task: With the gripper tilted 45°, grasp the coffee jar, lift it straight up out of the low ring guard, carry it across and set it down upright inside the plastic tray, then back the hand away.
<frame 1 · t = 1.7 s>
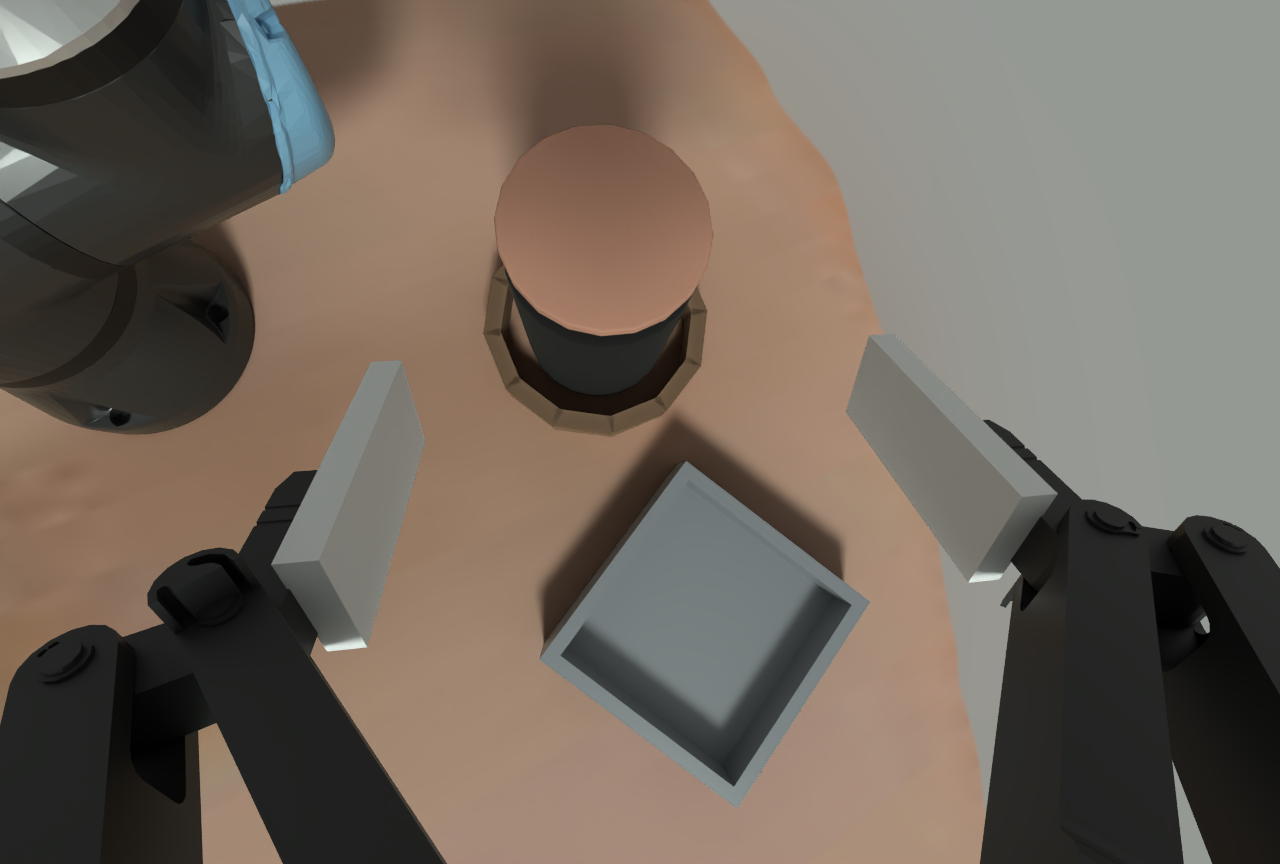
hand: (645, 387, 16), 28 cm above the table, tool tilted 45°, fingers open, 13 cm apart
ring guard: (596, 333, 44), on the table
coffee jar: (596, 334, 44), resting in ring guard
tray: (698, 616, 42), on the table
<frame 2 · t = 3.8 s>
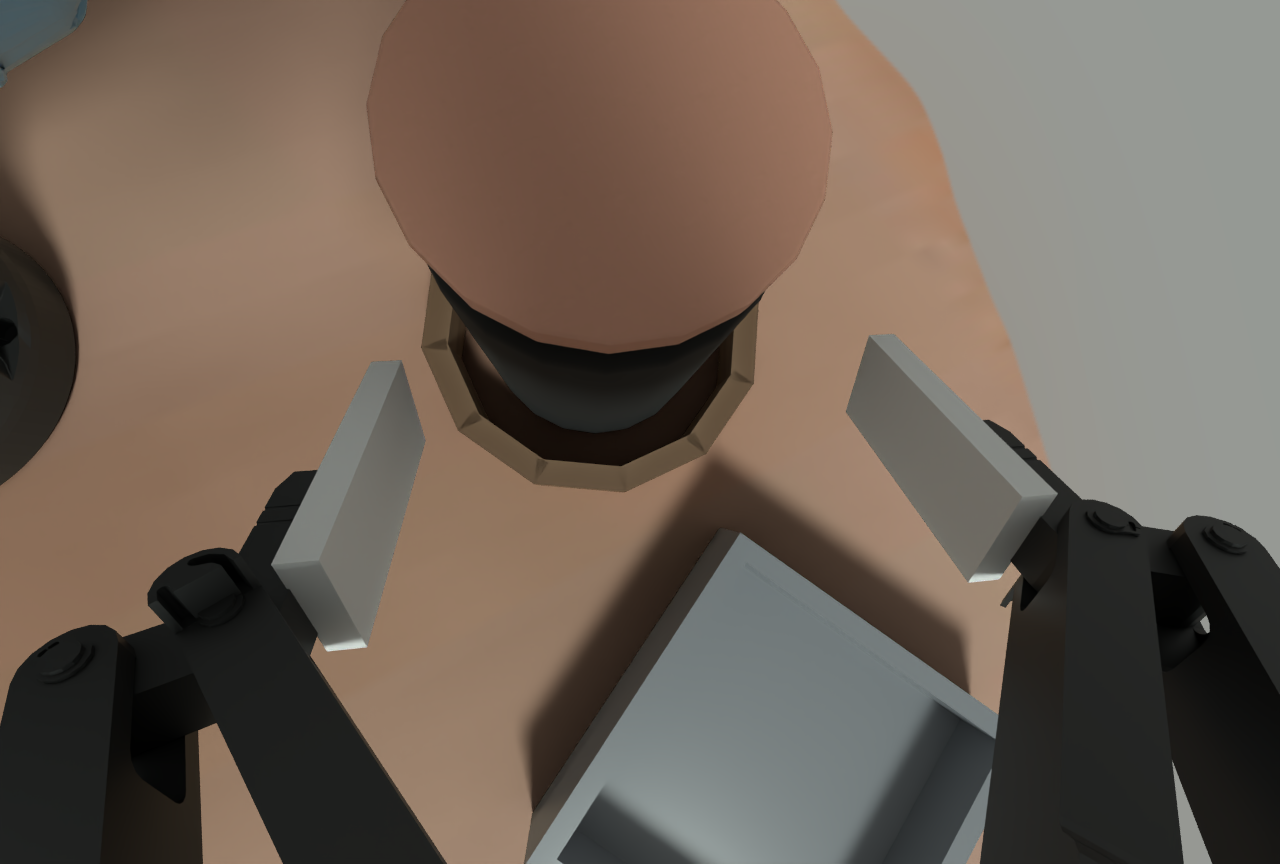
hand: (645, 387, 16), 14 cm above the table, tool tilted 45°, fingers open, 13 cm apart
ring guard: (595, 339, 30), on the table
coffee jar: (595, 341, 30), resting in ring guard
tray: (762, 756, 28), on the table
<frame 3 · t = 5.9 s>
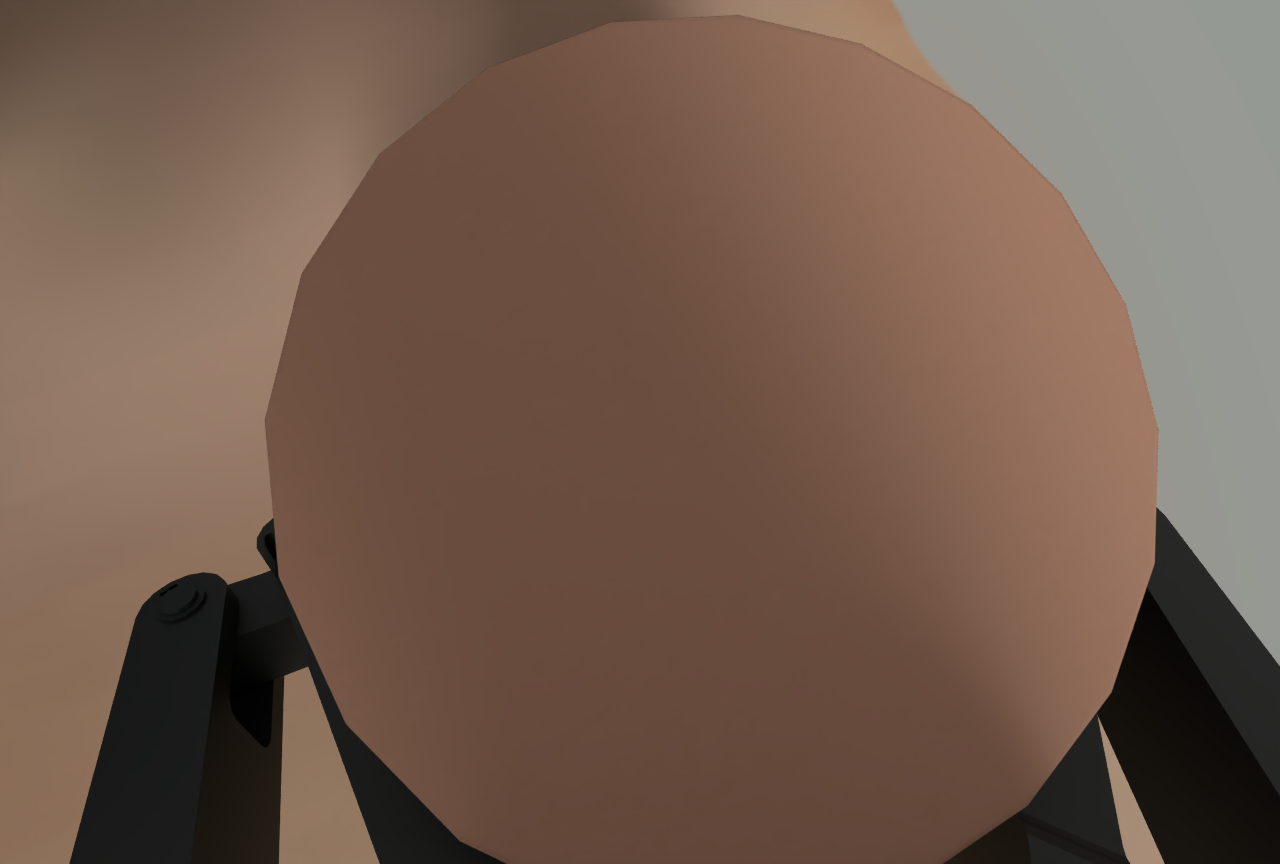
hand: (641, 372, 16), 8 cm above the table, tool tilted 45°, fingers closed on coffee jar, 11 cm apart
coffee jar: (627, 478, 24), resting in ring guard, touching gripper
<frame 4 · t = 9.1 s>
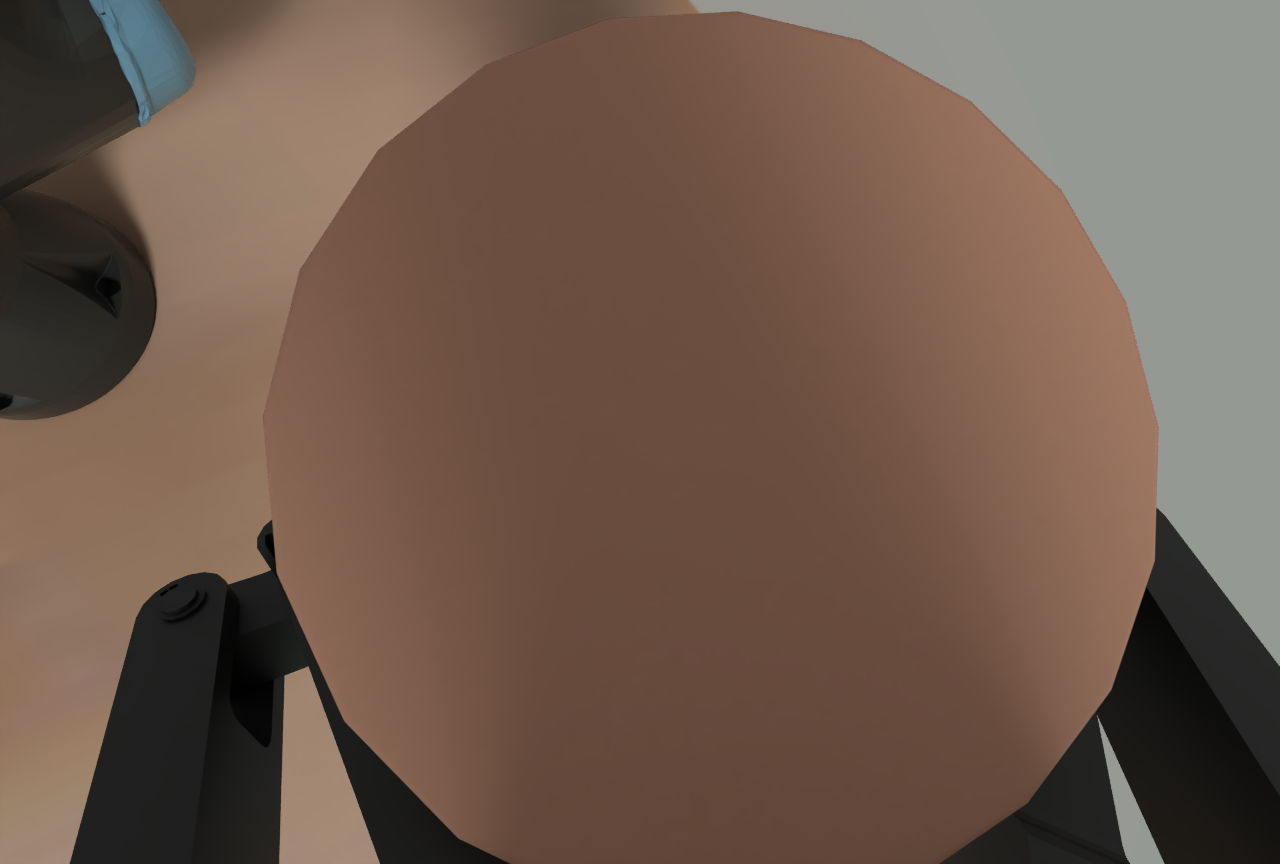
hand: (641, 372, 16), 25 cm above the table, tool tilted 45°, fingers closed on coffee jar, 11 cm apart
coffee jar: (627, 477, 24), point 17 cm above the table, touching gripper
when the fingers open (11 cm above the table, at t = 12.7 s): coffee jar drops 1 cm, resting on tray.
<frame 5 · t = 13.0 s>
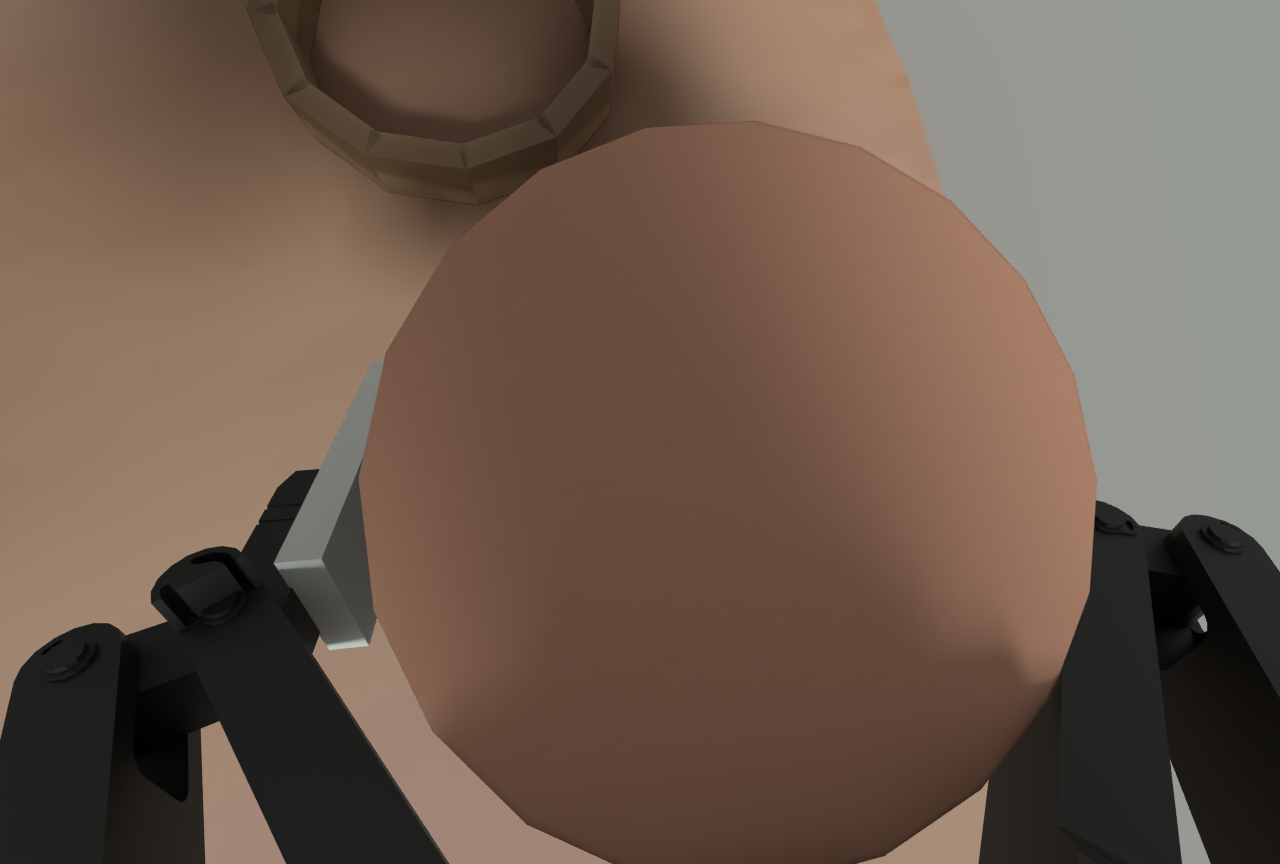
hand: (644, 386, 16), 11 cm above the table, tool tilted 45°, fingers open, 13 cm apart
ring guard: (456, 51, 28), on the table
coffee jar: (625, 480, 25), point 1 cm above the table, touching tray
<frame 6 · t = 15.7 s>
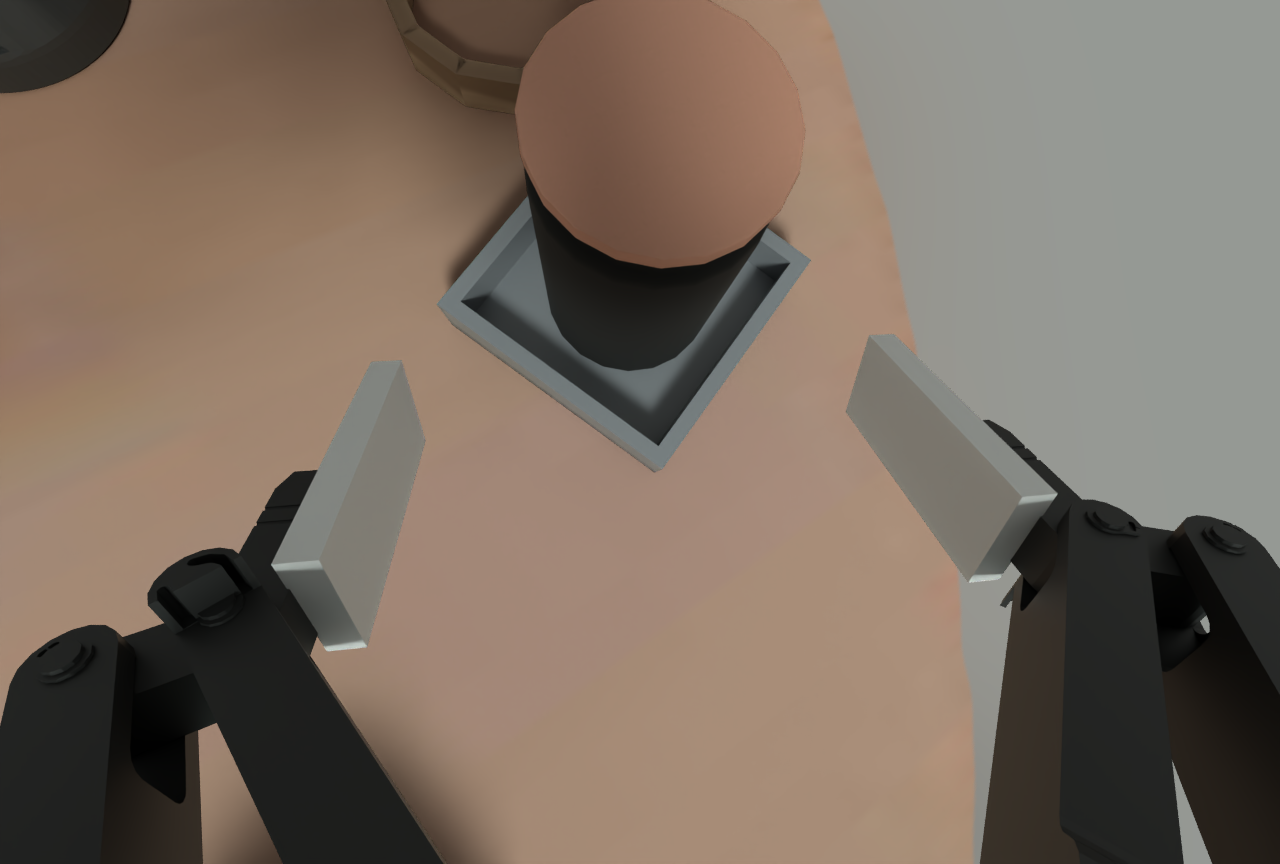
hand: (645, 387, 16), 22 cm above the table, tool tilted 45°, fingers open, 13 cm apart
ring guard: (511, 10, 40), on the table
coffee jar: (627, 300, 38), point 1 cm above the table, touching tray
tray: (626, 303, 38), on the table
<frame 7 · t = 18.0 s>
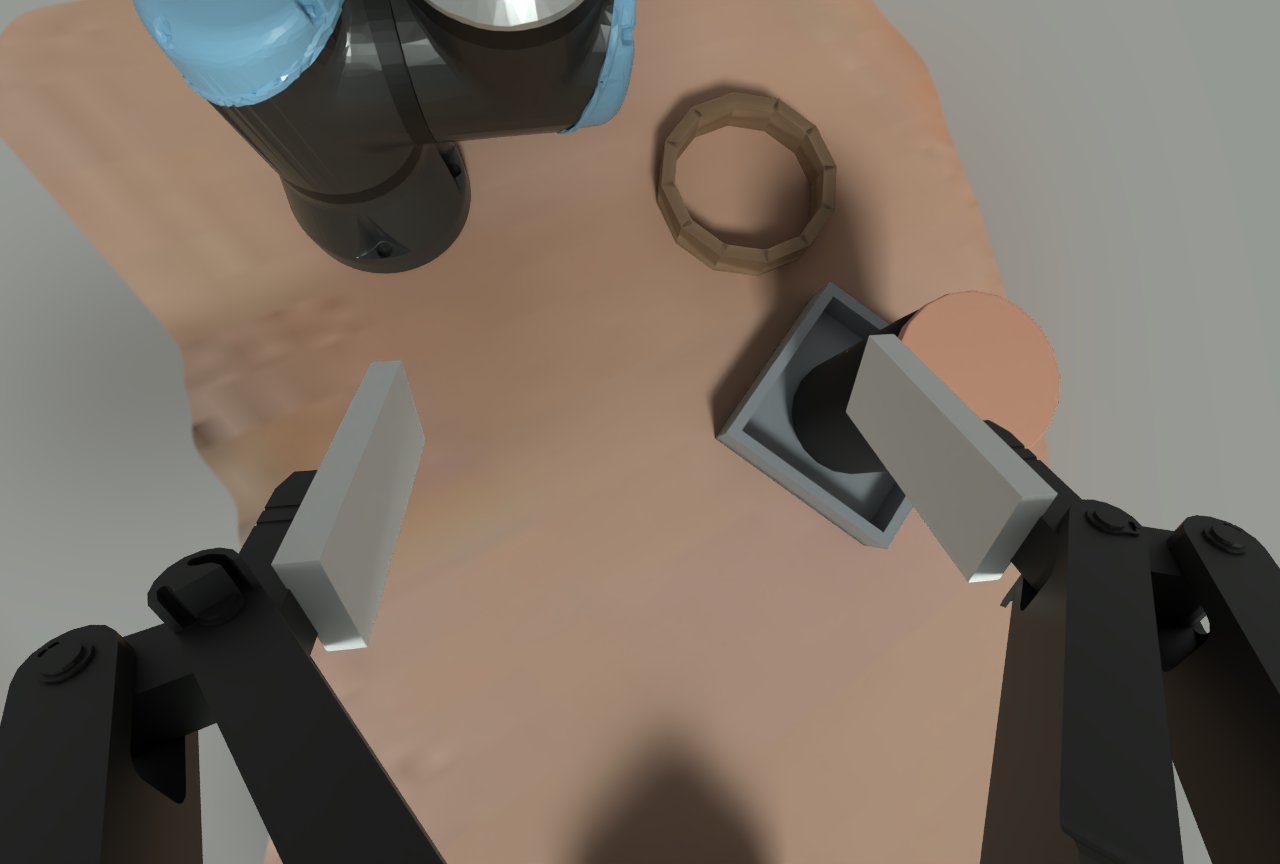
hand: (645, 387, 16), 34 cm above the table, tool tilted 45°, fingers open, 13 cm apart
ring guard: (741, 193, 53), on the table
coffee jar: (840, 417, 51), point 1 cm above the table, touching tray
tray: (837, 418, 52), on the table
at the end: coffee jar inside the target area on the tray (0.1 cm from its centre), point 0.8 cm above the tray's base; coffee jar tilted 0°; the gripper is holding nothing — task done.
